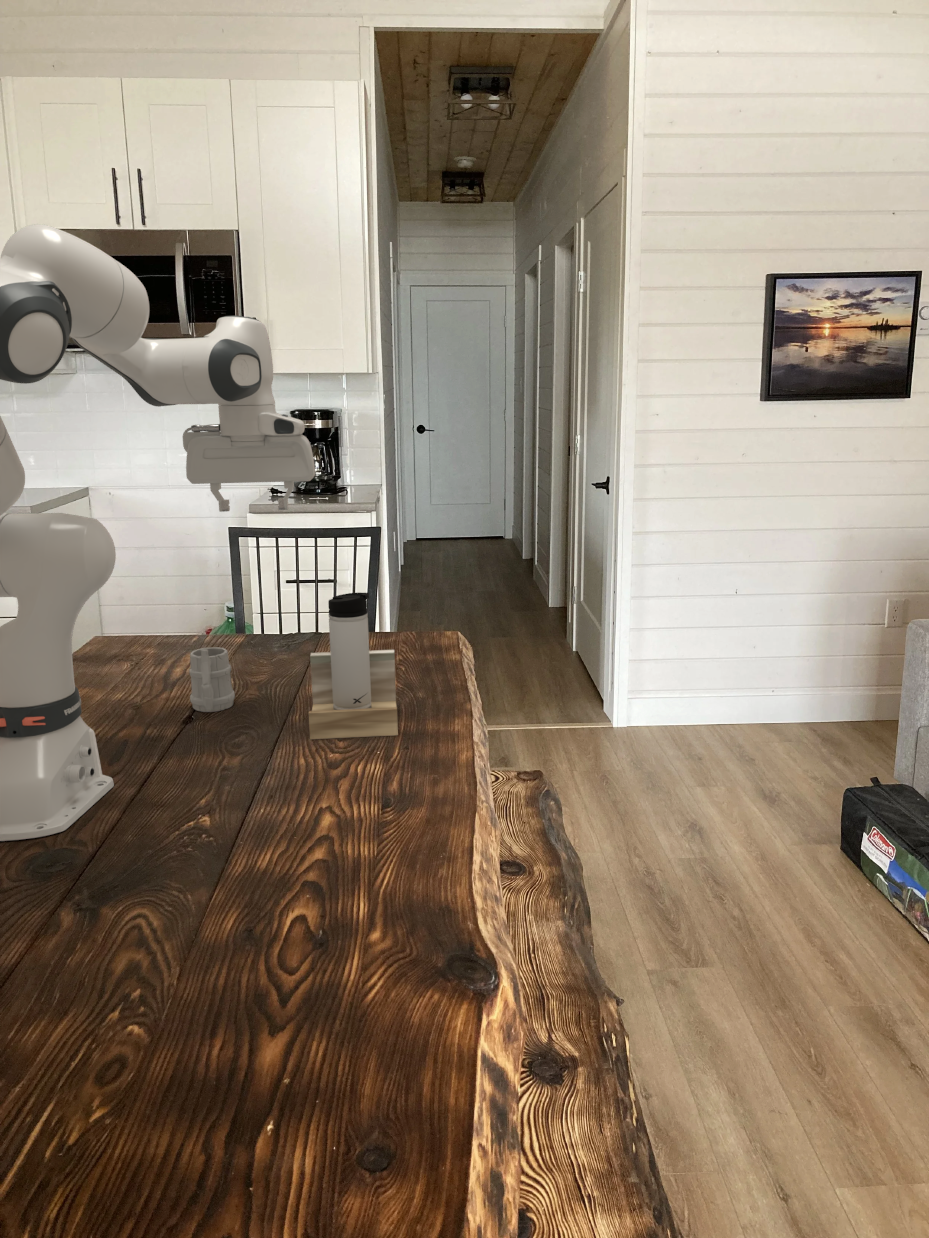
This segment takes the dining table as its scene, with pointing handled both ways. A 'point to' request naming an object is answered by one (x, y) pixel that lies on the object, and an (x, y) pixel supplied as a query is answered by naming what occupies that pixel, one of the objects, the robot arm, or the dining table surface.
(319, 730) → the wooden l bracket
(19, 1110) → the dining table surface
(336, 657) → the travel mug
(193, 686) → the mug
